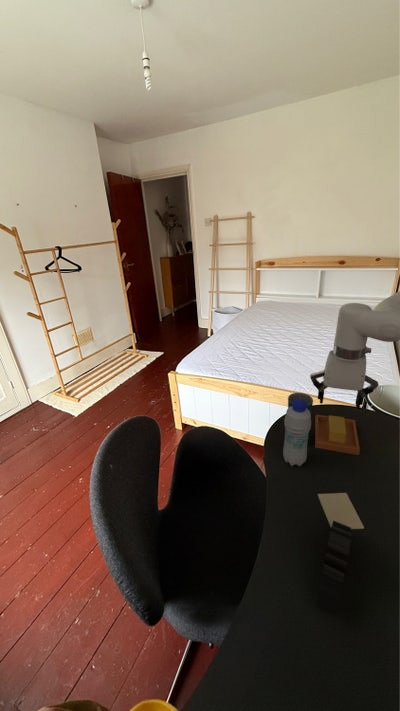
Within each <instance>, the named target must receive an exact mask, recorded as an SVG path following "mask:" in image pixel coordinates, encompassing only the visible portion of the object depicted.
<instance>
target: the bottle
mask: <svg viewBox="0 0 400 711" xmlns="http://www.w3.org/2000/svg"><path fill="white" fill-rule="evenodd" d="M311 414H312V412H311V413H310V411H309V410H308V409H307V408H306V403H305V401H303V400H295V401H294V402H293V405H292V406H291V407H289V408H288V407H287V409H286V412H285V417H284V420H283V421H284V428H285V429H284V430H285V431H284V442H283V449H282V455H283V459H284V462H285V463H287V464H288V463H289V465H290V466H291V467H294V466H295V465H296V466H297V467H301V466H303V464H305V463H306V461H307V457H308V441H309V433H310V430H311V427H312V416H311Z"/></svg>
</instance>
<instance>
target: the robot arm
mask: <svg viewBox="0 0 400 711" xmlns="http://www.w3.org/2000/svg"><path fill="white" fill-rule="evenodd" d="M368 338H369V339H373V340H377V341H381V342H386V343H394V342H399V341H400V290H399V291H397V292H395V293H393V294H392V295H390V296H387V298H385V299H383V300H382V301H380V302H378V304H376V306H374V308H372V307H371V306H370V305H368V304H365V303H360V302H347V303H345V304H342V305H341V306H340V308H339V311H338V316H337V322H336V329H335V334H334V340H333V341H334V342H333V347H332V350H330V351H329V353H328V355H327V358H326V361H325V366H324V370H320V371H317V372H314V373H313V372H312V373H310V374H309V378H310V380H311V382H312V384H313V387H314V388H316V389H317V391H318V392H317V400H319V404H321V405H322V404H323V403H324V398H325V397H324V396H325V390H327V388H331V389H337V390H346V391H355V392H357V393H356V396H355V397H356V398H355V402H354V403H355V408H356V409H357V410H360V408H361V406H363V404H364V400H365V398H366V397H367V396H368V395H370V394H372V393H373V392H374V391H375V390H376V389H377V388H378V387H379V386H380V384H379V381H377V380H376V379H374V378H372V377H370V376H368V375H367V374H366V373H367V355H366V354H372V347H367V341H368ZM319 378H323V380H322V381H319V380H318V379H319ZM365 382H366V383H367V384H369V385H368V386H366V387H365Z"/></svg>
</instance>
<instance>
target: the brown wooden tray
mask: <svg viewBox="0 0 400 711" xmlns="http://www.w3.org/2000/svg"><path fill="white" fill-rule="evenodd" d="M328 417H329V415H328V416H327V415H323V414H315V418H314V419H315V420H314V448H316V449H322V450H328V451H332V452H339V453H343V454H344V453H345V454H349V455H355V456H360V452H361V449H360V448H361V447H360V443H359V438H358V436H359V435H358V431H357V425H356V419H351V418H344V420H345V429H346V438H345V443H344V445H343V444H337V443H331V442H328V428H327V424H328Z"/></svg>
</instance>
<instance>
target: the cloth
mask: <svg viewBox="0 0 400 711" xmlns="http://www.w3.org/2000/svg"><path fill="white" fill-rule="evenodd" d="M317 497H318V500H319V502H320V505H321V507H322V509H323V512H324V514H325V517H326V519H327V521H328V524H329V526H330V528H331V526H332V524H333V520H334V521H336V522H338V523H341V524H343V525H346V526H348V527H351V530H363V529H365V526H364V524H363V522H362V520H361V519H360V516H359V514H358V513H357V511H356V509H355V507H354V505H353V503H352V501H351V499H350V497H349V495H348V493H347V492H333V493H331V492H329V493H317Z"/></svg>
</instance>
